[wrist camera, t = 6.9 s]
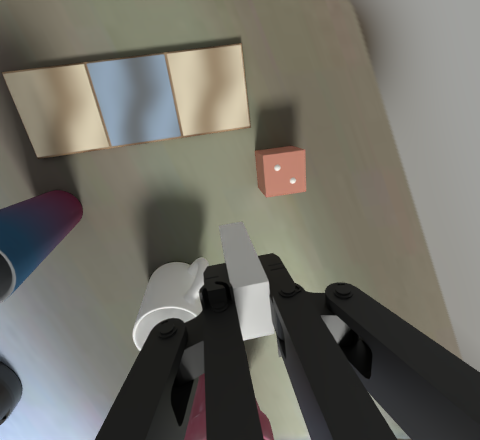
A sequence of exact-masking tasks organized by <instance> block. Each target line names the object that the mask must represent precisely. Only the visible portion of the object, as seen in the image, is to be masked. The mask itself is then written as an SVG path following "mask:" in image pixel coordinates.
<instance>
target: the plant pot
mask: <svg viewBox="0 0 480 440" xmlns="http://www.w3.org/2000/svg"><path fill="white" fill-rule="evenodd" d="M255 399H256V398H255ZM256 404H257V409H258V414H259V419H260V423H261V428H262V433H263V438H264V440H274V438H273V433H272V429H271V425H270V422H269V419H268V418H267V416H266V415H265V414H264V413H263V412H262V411H260V408H259V406H258V403H257V401H256ZM184 440H206V407H205V374H202V375H201V376H199V381H198V385H197V389H196V393H195V397H194V401H193V405H192V409H191V414H190V418H189V422H188V426H187V430H186V434H185V438H184Z"/></svg>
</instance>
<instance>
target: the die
mask: <svg viewBox="0 0 480 440" xmlns="http://www.w3.org/2000/svg"><path fill="white" fill-rule="evenodd" d="M255 157H256V169H257V180H258V188H259V189H260V190H261V192H262V193H263V194H264V195H265V197H273V196H279V195H286V194H293V193H299V192H306V165H305V150H304V149H301V148H297V147H294V146H286V147H279V148H271V149H264V150H256V151H255Z"/></svg>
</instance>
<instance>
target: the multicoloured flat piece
mask: <svg viewBox="0 0 480 440" xmlns="http://www.w3.org/2000/svg"><path fill="white" fill-rule="evenodd" d="M2 75H3V77H4V79H5V82H6V84H7V87H8V89H9V91H10V94H11V96H12V99H13V101H14V103H15V106H16V108H17V110H18V113H19V115H20V118H21V120H22V122H23V125H24V127H25V130H26V132H27V134H28V137H29V139H30V141H31V144H32V146H33V149H34V151H35V153H36V156H37V158H38V159H41V158H48V157H55V156H62V155H68V154H75V153H82V152H89V151H96V150H102V149H109V148H116V147H123V146H129V145H136V144H143V143H150V142H157V141H163V140H170V139H177V138H184V137H190V136H197V135H204V134H211V133H218V132H224V131H231V130H238V129H245V128H251V125H250V116H249V107H248V98H247V88H246V79H245V70H244V61H243V52H242V43H238V44H230V45H222V46H213V47H205V48H197V49H189V50H181V51H172V52H164V53H156V54H148V55H140V56H131V57H123V58H115V59H107V60H99V61H90V62H82V63H74V64H66V65H58V66H49V67H41V68H33V69H25V70H17V71H8V72H2Z"/></svg>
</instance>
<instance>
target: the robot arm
mask: <svg viewBox="0 0 480 440" xmlns="http://www.w3.org/2000/svg"><path fill="white" fill-rule="evenodd" d="M219 230H220V235H221V241H222V247H223V252H224V258H225V263H223V264H217V265H212V266H207V268H206V269H205V271H204V272H203V276H204V285H203V286H202V287H201V288H200V290H199V297H200V301H201V305H202V312H201V313H200V314H199V315H198V316H196V317H195V318H193V319H191V320H189V321H187V322H185V323H184V321H182V320H181V319H179V318H169V319H165V320H163V321H161V322H159V323H158V324H157V325H155V326H154V327H153V329H152V330H151V331H150V333H149V335H148V337H147V339H146V341H145V343H144V345H143V347H142V349H141V351H140V353H139V355H138V357H137V359H136V361H135V363H134V364H133V366H132V368H131V370H130V372H129V374H128V376H127V378H126V380H125V382H124V384H123V386H122V388H121V390H120V392H119V394H118V396H117V398H116V399H115V401H114V403H113V405H112V407H111V409H110V411H109V413H108V415H107V417H106V419H105V421H104V423H103V425H102V427H101V429H100V431H99V433H98V434H97V436H96V438H95V440H184V438H185V434H186V430H187V426H188V422H189V418H190V414H191V409H192V405H193V401H194V397H195V393H196V389H197V385H198V381H199V376H201V375H202V374H205V407H206V440H264V438H263V433H262V428H261V423H260V419H259V414H258V409H257V404H256V399H255V395H254V390H253V385H252V380H251V376H250V371H249V366H248V361H247V356H246V352H245V347H244V342H243V341H244V340H248V339H253V338H257V337H262V336H266V335H271V334H274V329H275V331H276V334H277V344H278V353H279V357H281V355H282V358H283V361H284V364H285V366H286V369H287V372H288V375H289V378H290V381H291V383H292V386H293V389H294V392H295V395H296V398H297V400H298V403H299V406H300V409H301V412H302V415H303V417H304V420H305V423H306V426H307V429H308V432H309V435H310V437H311V440H397V438H396V437H395V435H394V433H393V432H392V430H391V429H390V427H389V425H388V424H387V422H386V421H385V419H384V417H383V416H382V414H381V412H380V411H379V409H378V408H377V406H376V404H375V403H374V401H373V400H372V398H371V396H372V397H373V398H374V399H375V400H376V401H377V402H378V403H379V404H380V405H381V407H382V408H383V409H384V410H385V411H386V412H387V413H388V414H389V415H390V416H391V417H392V419H393V420H394V421H395V422H396V423H397V424H398V425H399V426H400V427H401V428H402V430H403V431H404V432H405V433H406V434H407V435H408V436H409V437H410V438H411V439H412V440H480V372H478V371H477V370H475V369H474V368H472V367H471V366H469V365H468V364H467V363H465V362H464V361H462V360H461V359H459V358H458V357H457V356H455V355H454V354H452V353H451V352H449V351H448V350H446V349H445V348H444V347H442V346H441V345H439V344H438V343H436V342H435V341H433V340H432V339H430V338H429V337H428V336H426V335H425V334H423V333H422V332H420V331H419V330H417V329H416V328H415V327H413V326H412V325H410V324H409V323H407V322H406V321H404V320H403V319H402V318H400V317H399V316H397V315H396V314H394V313H393V312H391V311H390V310H389V309H387V308H386V307H384V306H383V305H381V304H380V303H378V302H377V301H376V300H374V299H373V298H371V297H370V296H368V295H367V294H365V293H364V292H362V291H361V290H360V289H358V288H357V287H355V286H353V285H351V284H347V283H333V284H331V285H329V286H327V288H326V290H325V293H311V292H306V291H305V290H304V289H303V288H302V287H301V286H300V285H298V284H296V283H294V281H293V279H292V278H291V276H290V274H289V273H288V271H287V269H286V268H285V266H284V264H283V263H282V261H281V259H280V257H278V256H277V255H275V254H273V253H271V254H266V255H260V256H257V253H256V251H255V249H254V247H253V244H252V242H251V240H250V237H249V235H248V233H247V231H246V228H245V226H244V224H243V222H237V223H231V224H226V225H220V226H219ZM367 391H368V392H369V393H370V395H371V396H370V395H369V393H368V392H367ZM21 395H22V386H21V383H20V381H19V379H18V377H17V376H16V375H15V373H14V372H13V371H12V370H10V369H9V368H8V367H7V366H5V365H4V364H2V363H0V425H1V424H2V423H3V422H4V421H5V420H6V419H7V418H8V417H9V416H10V415H11V413H12V412H13V410H14V409H15V407H16V405H17V404H18V402H19V401H20V399H21Z"/></svg>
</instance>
